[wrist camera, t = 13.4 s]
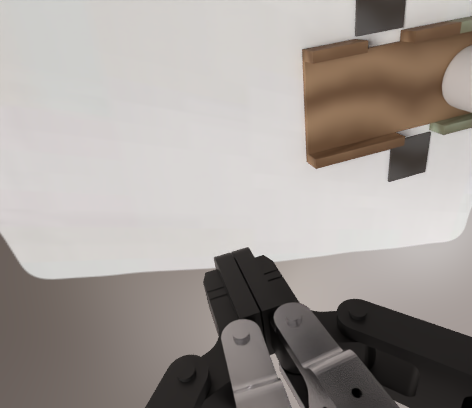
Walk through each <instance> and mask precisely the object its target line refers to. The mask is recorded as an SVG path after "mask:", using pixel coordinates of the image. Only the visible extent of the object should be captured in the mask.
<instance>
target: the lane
mask: <svg viewBox="0 0 472 408" xmlns="http://www.w3.org/2000/svg"><path fill="white" fill-rule="evenodd" d="M404 11H405V0H356V22H355V36H361V35H366V34H371V33H377V32H382V31H387V30H392V29H397V28H402V27H403V22H404ZM470 45H472V16H470V17H465V18H460V19H455V20H450V21H445V22H440V23H435V24H430V25H425V26H419V27H414V28H409V29H404V30H401V36H400V41H399V42H394V43H389V44H385V45H380V46H375V47H370V48H368V40H358V39H353V40H348V41H343V42H338V43H333V44H328V45H323V46H318V47H312V48H307V49H302V57H303V82H304V106H305V131H306V156H307V162H308V163H309V164H310V165H312V166H313V167H314V168H316V169H317V168H321V167H325V166H329V165H332V164H336V163H340V162H344V161H347V160H351V159H355V158H359V157H362V156H366V155H370V154H374V153H378V152H381V151H385V150H389V149H391V151H390V163H389V174H388V182H391V181H395V180H398V179H402V178H405V177H409V176H412V175H416V174H419V173H423V172H425V169H426V162H427V155H428V148H429V141H430V134H431V132H427V133H423V134H419V135H415V136H411V137H407V138H405V136H403V135H400V134H398V133H396V132H398V131H402V130H406V129H410V128H414V127H418V126H422V125H426V124H430V129H429V130H431V131H434V132H437V133H440V134H442V135H445V134H449V133H453V132H457V131H460V130H464V129H468V128H472V113H471V112H468V111H464V110H461V109H458V108H455V107H453V106H451V105H449V104H448V103H447V102H446V101H445V99H444V97H443V93H442V81H443V77H444V74H445V71H446V69H447V67H448V65H449V64H450V62H451V61H452V59H453V58H454V57H455V56H456V55H457V54H458V53H459V52H460V51H461V50H463V49H464V48H466V47H468V46H470Z"/></svg>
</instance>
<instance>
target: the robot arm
mask: <svg viewBox="0 0 472 408" xmlns="http://www.w3.org/2000/svg"><path fill="white" fill-rule="evenodd" d="M214 262H215V266H216V270H213V271H210V272H207V273H205V278H204V282H203V283H204V287H205V292H206V295H207V300H208V304H209V308H210V311H211V314H212V317H213V320H214V323H215V326H216V330H217V333H218V336H219V338H218V341H217V343H216V344H215V346H214V347H213V348H212V349H211V350H210V351H209V352H208V353H206V354H205V355H203V356H202V357H200V356H197V355H186V356H182V357H180V358H178V359H176V360H175V361H174V362H173V363H172V364H171V365H170V366H169V368H168V369H167V371H166V373H165V374H164V376H163V378H162V380H161V381H160V383H159V385H158V387H157V388H156V390H155V392H154V393H153V395H152V397H151V399H150V400H149V402H148V404H147V405H146V407H145V408H292V407H291V405H290V402H289V399H288V397H287V394H286V391H285V388H284V386H283V383H282V381H281V379H280V378H278V377H277V374H276V371H275V369H274V366H273V363H272V360H271V358H270V355H271V354H274V353H275V354H276V356H277V358H278V360H279V366H280V371H281V374H282V375H283V377H284V379H285V381H286V382H287V384H288V386H289V388H290V389H291V391H292V393H293V395H294V397H295V398H296V400H297V402H298V404H299V406H300V407H301V408H399V407H398V405H397V404H396V403H395V401H397V402H399V403H401V404H403V405H405V406H407V407H409V408H472V337H470V336H467V335H464V334H461V333H458V332H455V331H452V330H450V329H446V328H444V327H441V326H438V325H435V324H432V323H429V322H426V321H423V320H420V319H417V318H414V317H411V316H408V315H405V314H403V313H399V312H397V311H393V310H391V309H388V308H385V307H382V306H379V305H376V304H373V303H370V302H367V301H364V300H361V299H350V300H346V301H344V302H343V303H341V304H340V305H339V307H338V309H337V311H329V312H317V311H312V310H310V309H309V308H308V307H307V306H305V305H303V304H301V303H299V301H298V300H297V298H296V297H295V295H294V294H293V292H292V291H291V289H290V287H289V286H288V284H287V283H286V281H285V279H284V278H283V277H282V275H281V274H280V272H279V271H278V269H277V267H276V265H275V264H274V262H273V261H272V260H270V259H269V258H267V257H266V256H264V255H262V256H259V257H255V258H254V256H253V254H252V252H251V251H250V249H249V248H248V247H247V248H243V249H240V250H237V251H233V252H231V253H227V254H224V255H220V256H217V257H214Z"/></svg>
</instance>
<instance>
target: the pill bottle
mask: <svg viewBox="0 0 472 408" xmlns="http://www.w3.org/2000/svg"><path fill="white" fill-rule="evenodd" d="M442 93H443V97H444V99H445V101H446V102H447V103H448V104H449V105H451V106H453V107H455V108H458V109H461V110H464V111H468V112H471V113H472V45H470V46H468V47H466V48H464V49H463V50H461V51H460V52H459V53H458V54H457V55H456V56H455V57H454V58H453V59H452V61H451V62H450V64H449V65H448V67H447V69H446V71H445V74H444V77H443V81H442Z"/></svg>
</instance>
